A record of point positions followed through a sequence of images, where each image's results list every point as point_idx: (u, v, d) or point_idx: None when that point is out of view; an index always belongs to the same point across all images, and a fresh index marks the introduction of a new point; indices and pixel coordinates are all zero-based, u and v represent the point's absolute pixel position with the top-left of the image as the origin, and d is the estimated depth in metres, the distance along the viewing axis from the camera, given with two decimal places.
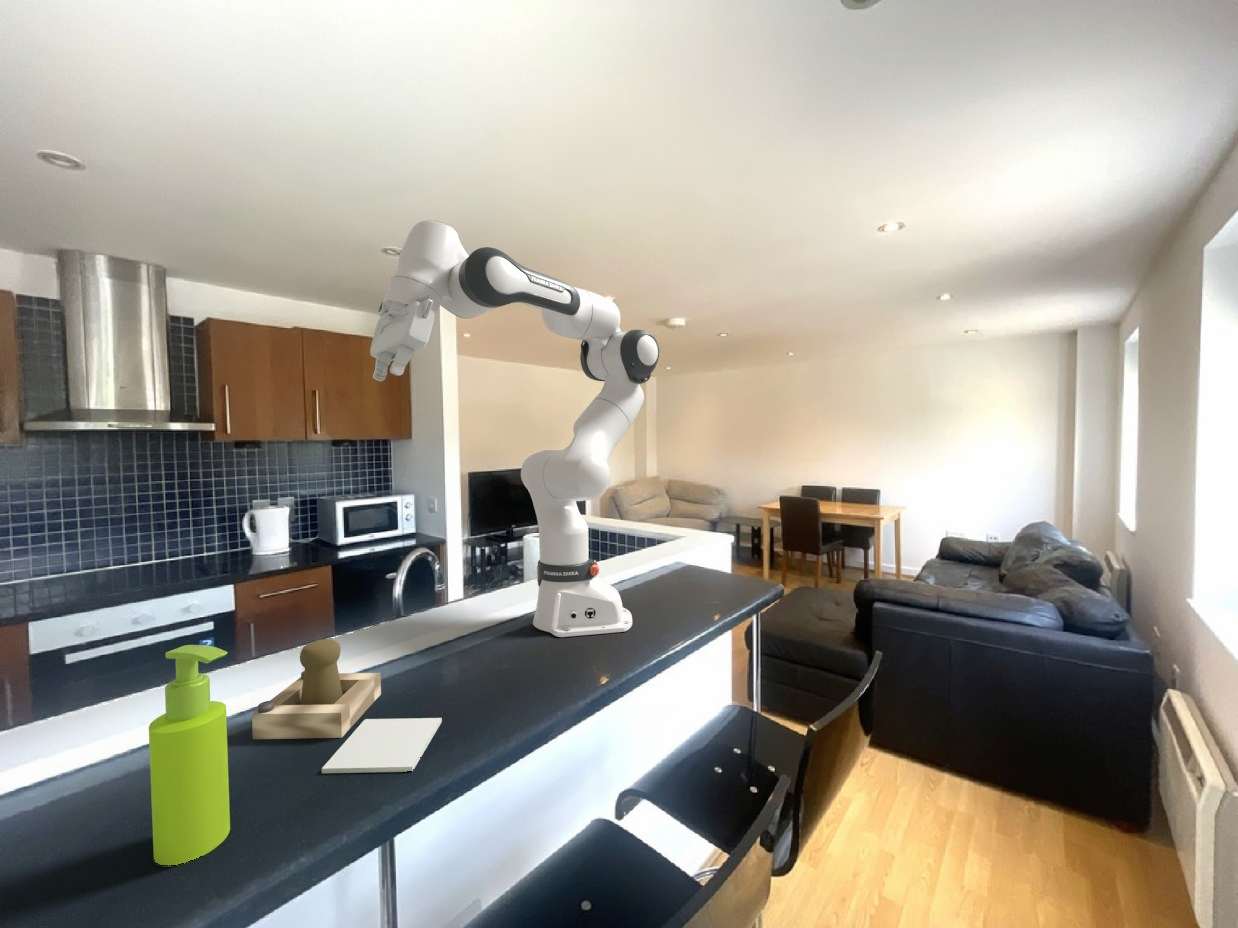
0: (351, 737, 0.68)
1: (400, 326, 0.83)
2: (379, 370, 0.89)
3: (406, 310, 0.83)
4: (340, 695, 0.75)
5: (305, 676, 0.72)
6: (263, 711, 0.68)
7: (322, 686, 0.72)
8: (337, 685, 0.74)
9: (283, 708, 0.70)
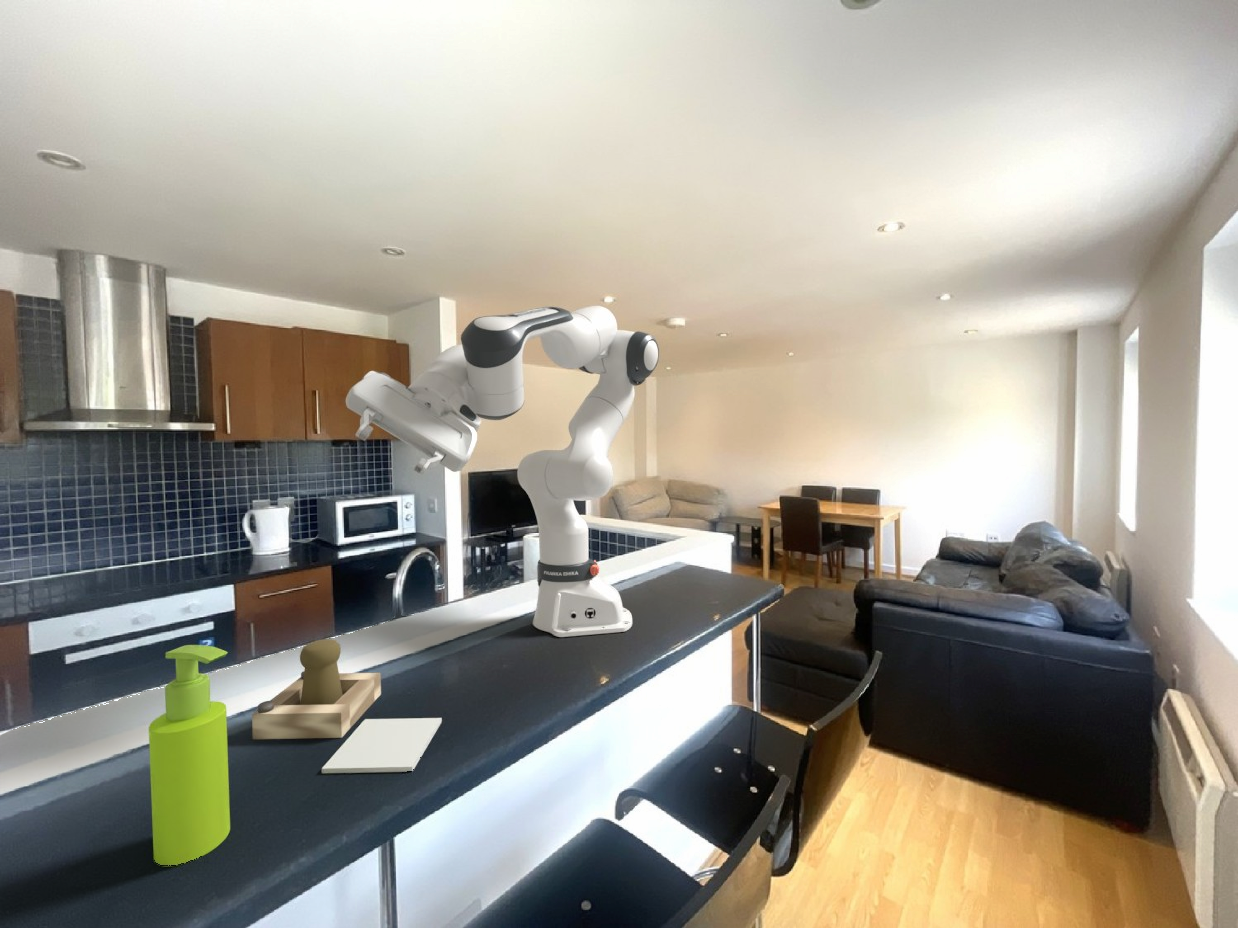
0: (351, 737, 0.68)
1: None
2: None
3: None
4: (340, 695, 0.75)
5: (305, 676, 0.72)
6: (263, 711, 0.68)
7: (322, 686, 0.72)
8: (337, 685, 0.74)
9: (283, 708, 0.70)
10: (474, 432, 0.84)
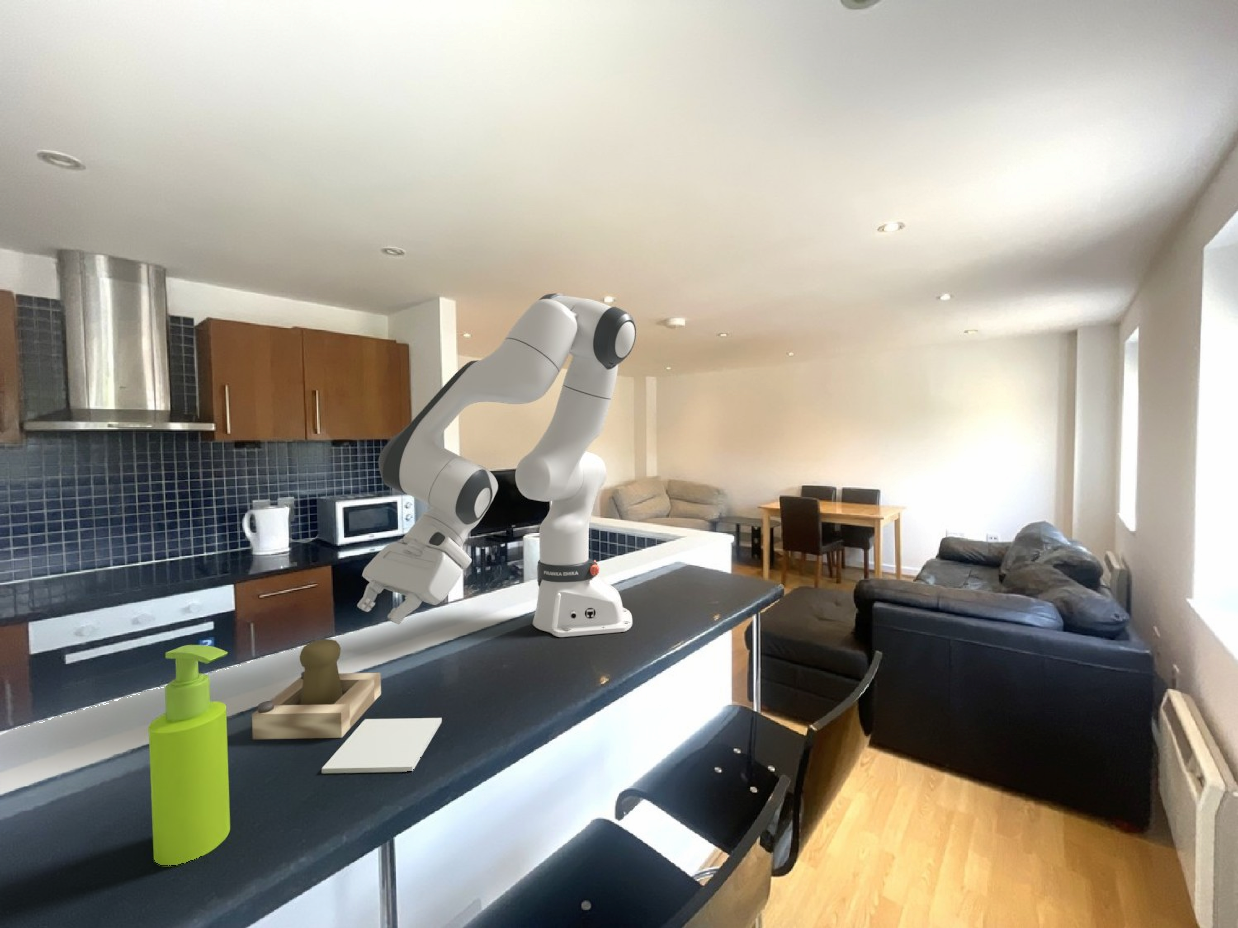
0: (351, 737, 0.68)
1: None
2: None
3: None
4: (340, 695, 0.75)
5: (305, 676, 0.72)
6: (263, 711, 0.68)
7: (322, 686, 0.72)
8: (337, 685, 0.74)
9: (283, 708, 0.70)
10: (440, 556, 0.79)
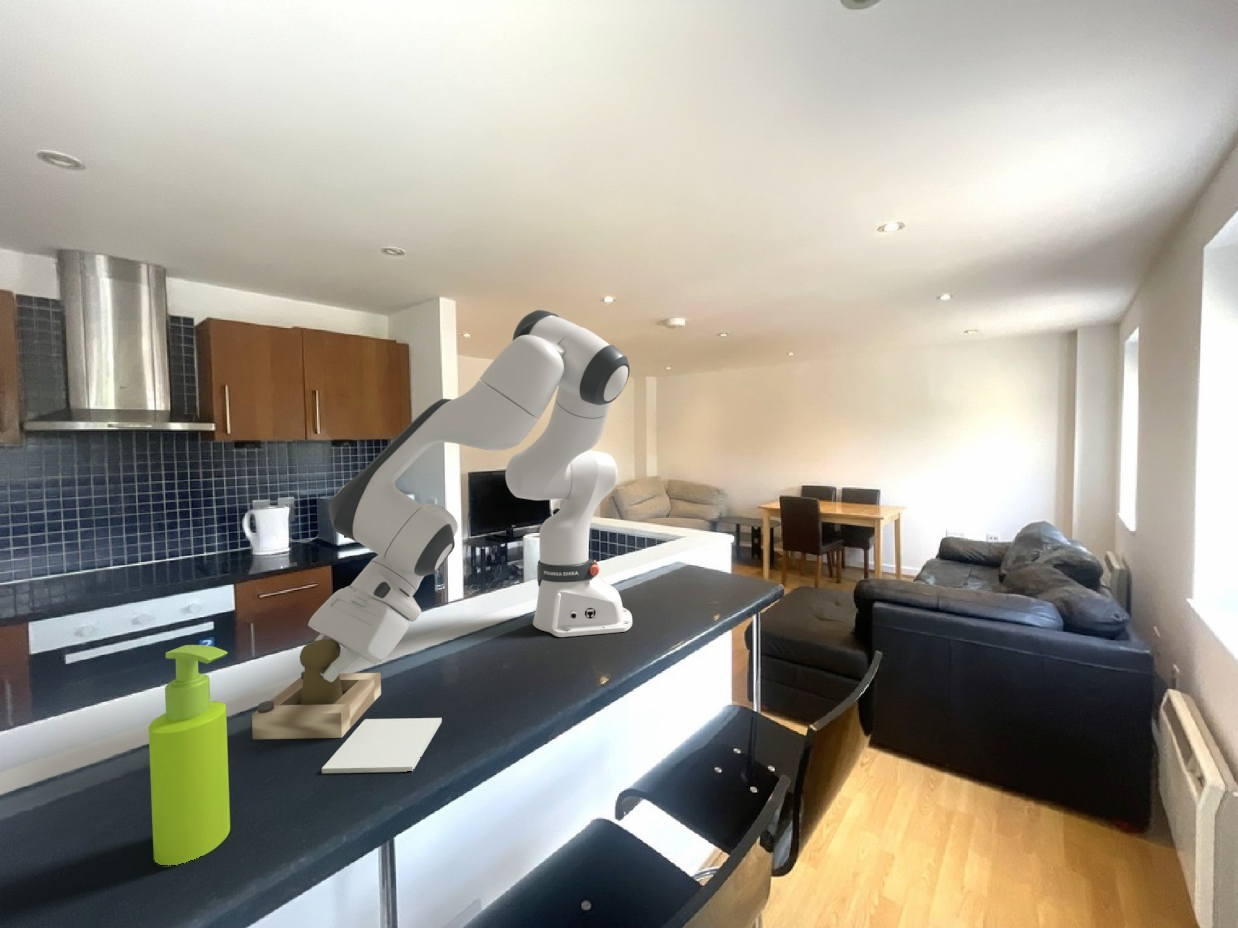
0: (351, 737, 0.68)
1: None
2: None
3: None
4: (340, 695, 0.75)
5: (305, 676, 0.72)
6: (263, 711, 0.68)
7: (322, 686, 0.72)
8: (337, 685, 0.74)
9: (283, 708, 0.70)
10: (383, 610, 0.73)
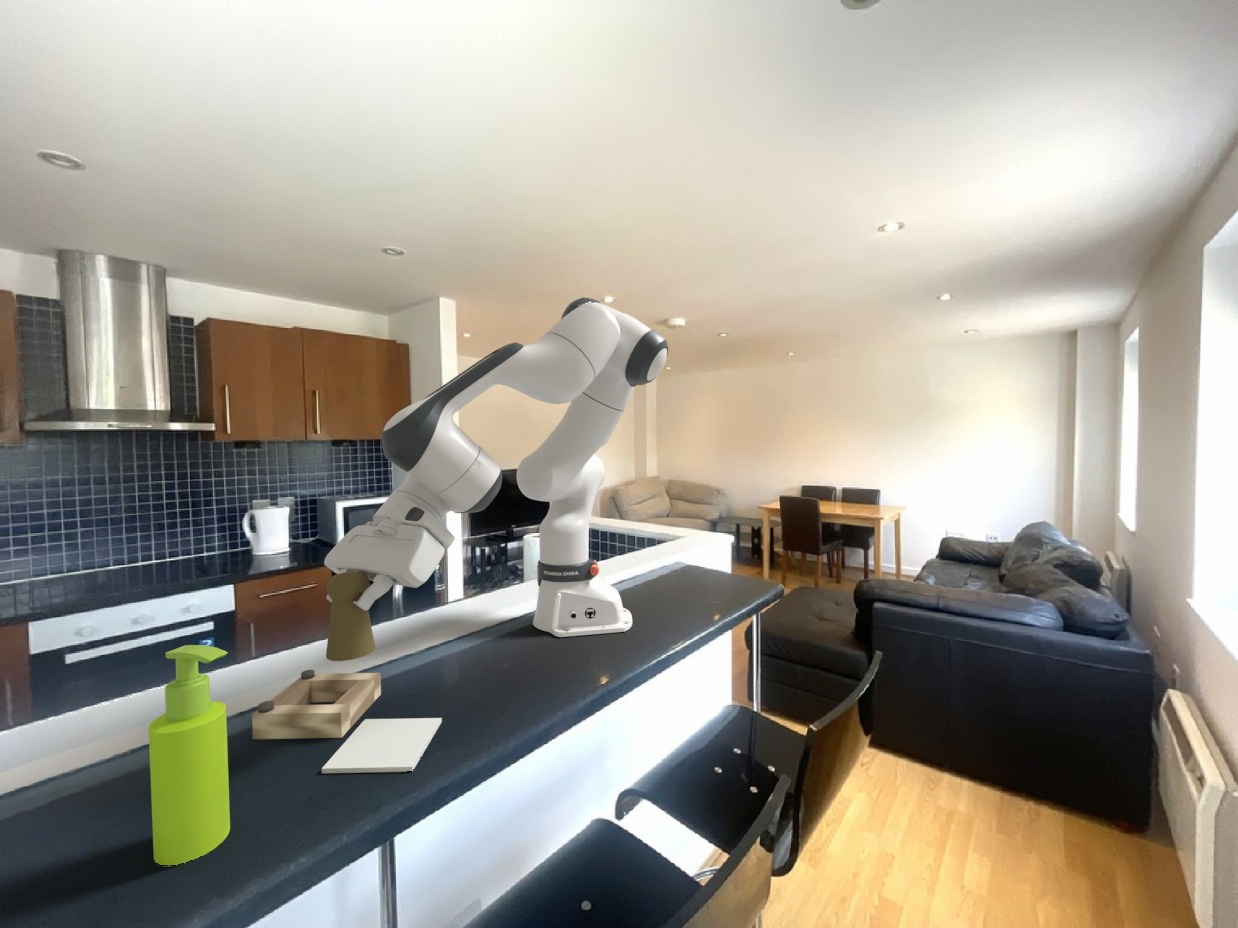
0: (351, 737, 0.68)
1: None
2: None
3: None
4: (371, 630, 0.69)
5: (334, 608, 0.67)
6: (263, 711, 0.68)
7: (354, 618, 0.67)
8: (368, 618, 0.69)
9: (283, 708, 0.70)
10: (420, 532, 0.69)
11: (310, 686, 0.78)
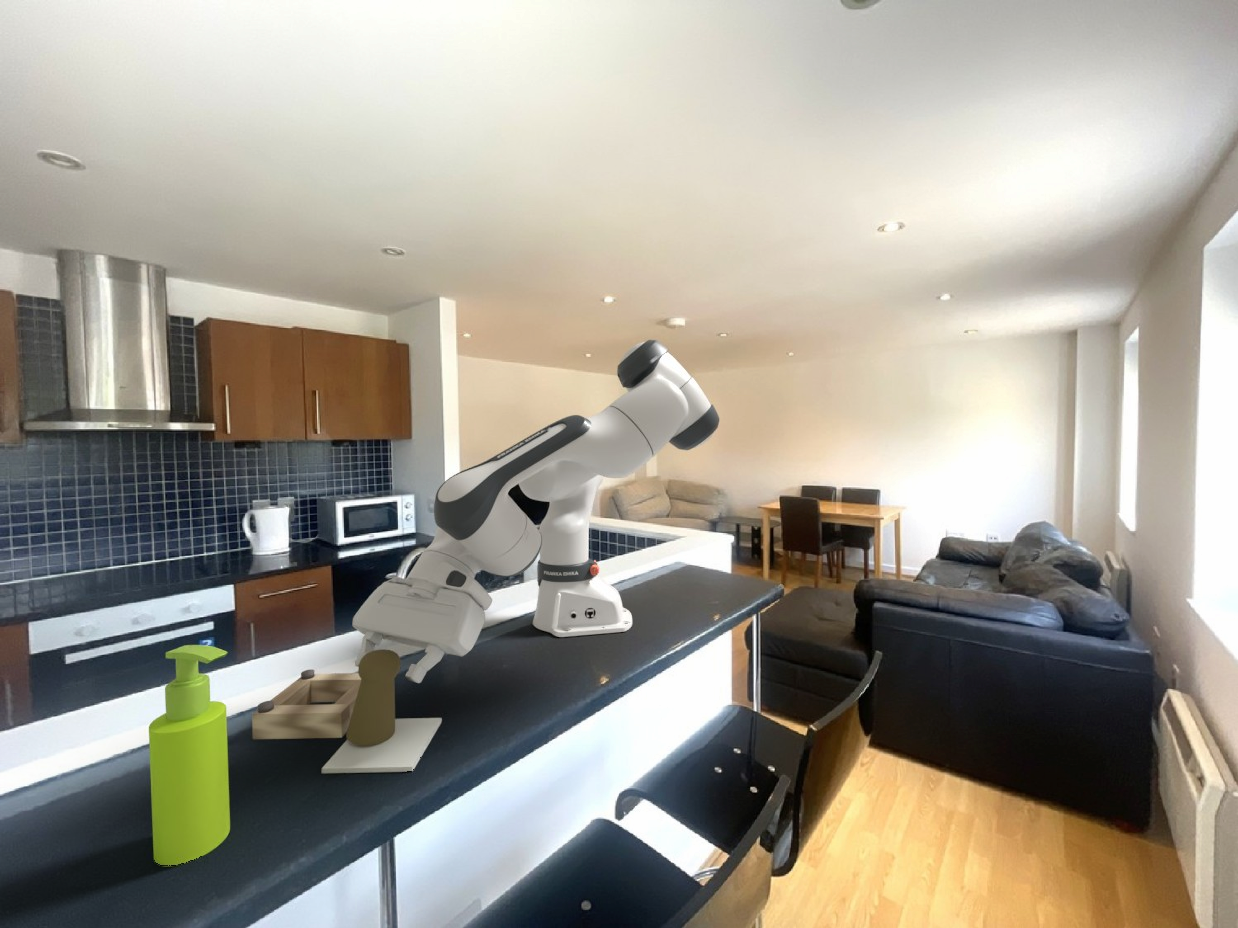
0: None
1: None
2: None
3: None
4: (394, 710, 0.69)
5: (364, 691, 0.66)
6: (263, 711, 0.68)
7: (383, 702, 0.66)
8: (394, 700, 0.68)
9: (283, 708, 0.70)
10: (465, 599, 0.69)
11: (310, 686, 0.78)
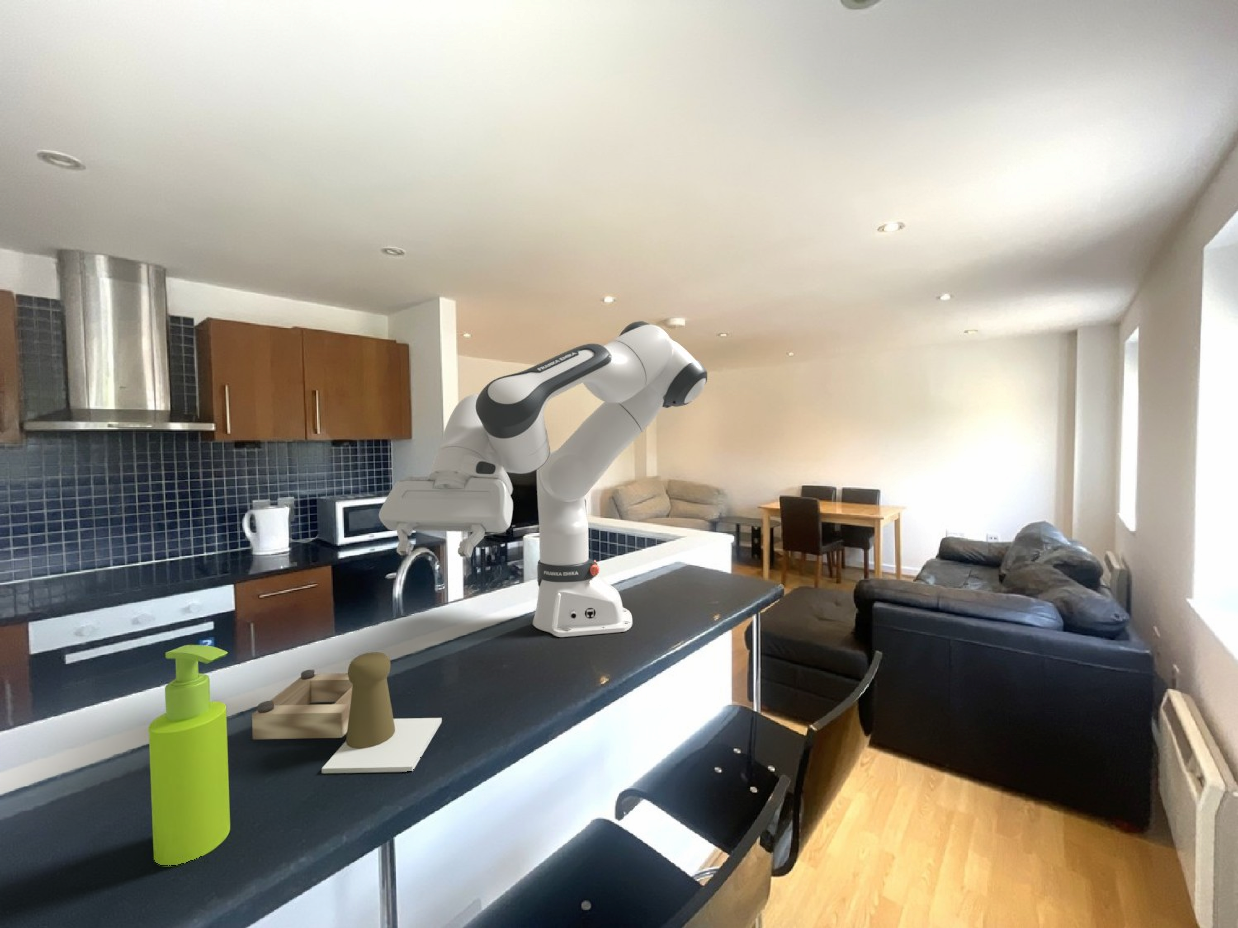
0: None
1: None
2: None
3: None
4: (391, 711, 0.69)
5: (356, 694, 0.66)
6: (263, 711, 0.68)
7: (377, 703, 0.66)
8: (389, 700, 0.68)
9: (283, 708, 0.70)
10: (499, 483, 0.77)
11: (310, 686, 0.78)
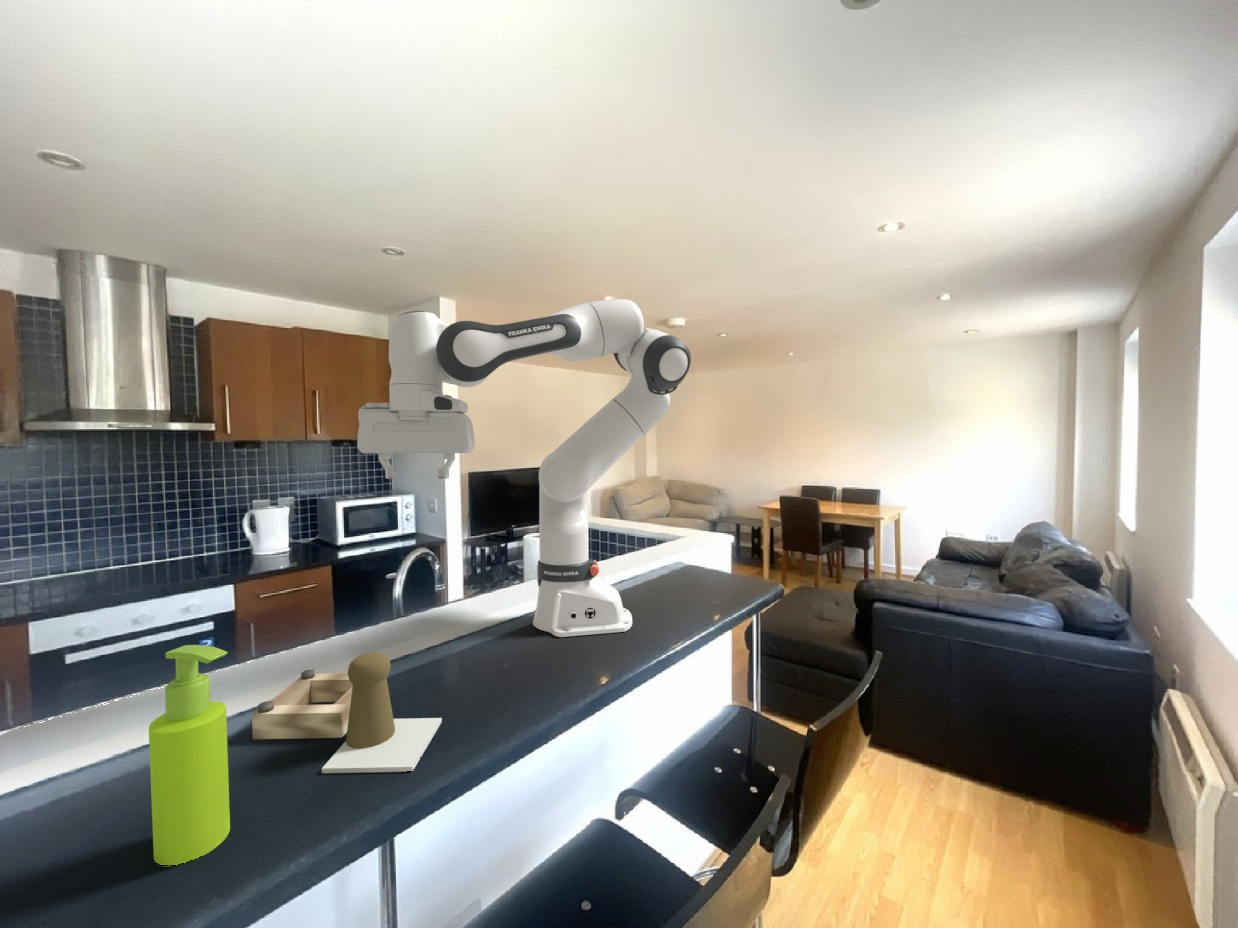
0: None
1: None
2: None
3: None
4: (391, 711, 0.69)
5: (356, 694, 0.66)
6: (263, 711, 0.68)
7: (377, 703, 0.66)
8: (389, 700, 0.68)
9: (283, 708, 0.70)
10: (459, 417, 0.89)
11: (310, 686, 0.78)
